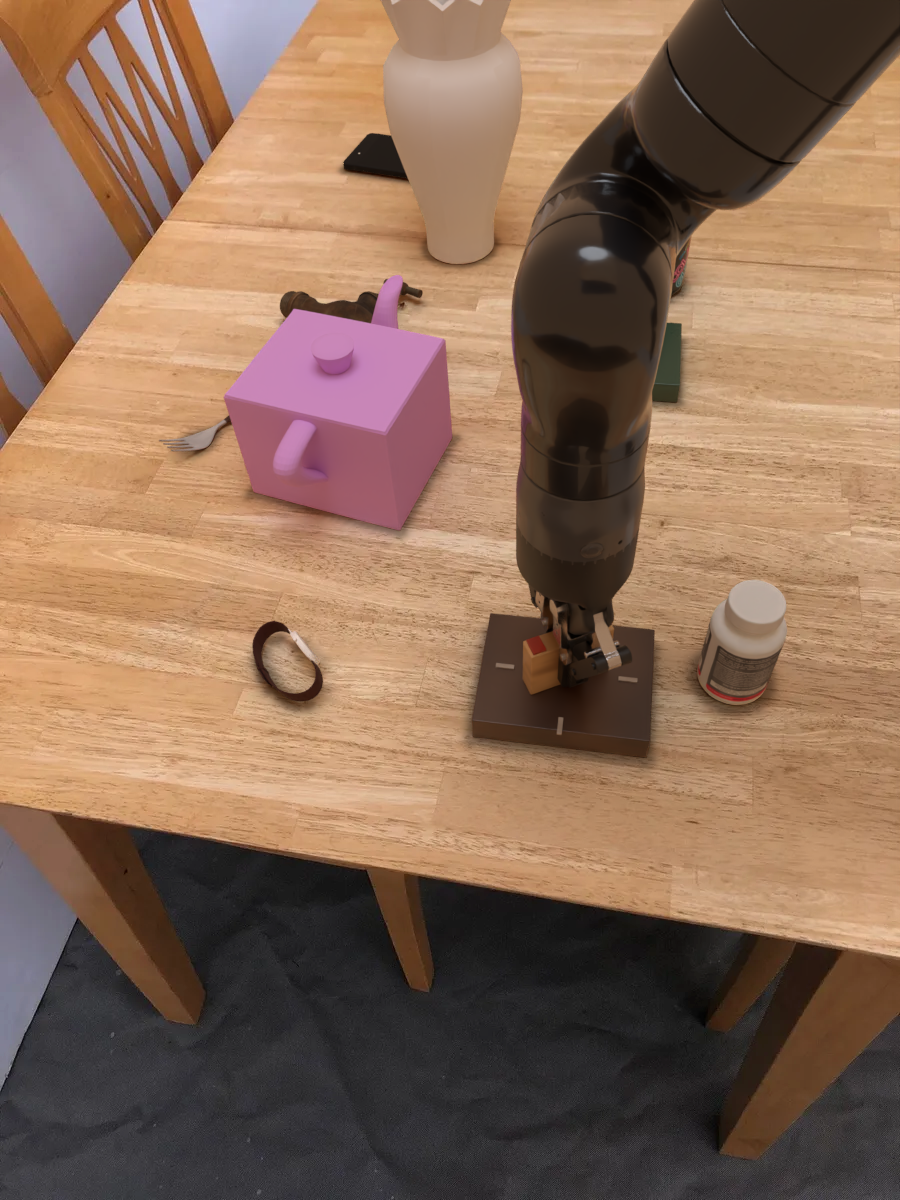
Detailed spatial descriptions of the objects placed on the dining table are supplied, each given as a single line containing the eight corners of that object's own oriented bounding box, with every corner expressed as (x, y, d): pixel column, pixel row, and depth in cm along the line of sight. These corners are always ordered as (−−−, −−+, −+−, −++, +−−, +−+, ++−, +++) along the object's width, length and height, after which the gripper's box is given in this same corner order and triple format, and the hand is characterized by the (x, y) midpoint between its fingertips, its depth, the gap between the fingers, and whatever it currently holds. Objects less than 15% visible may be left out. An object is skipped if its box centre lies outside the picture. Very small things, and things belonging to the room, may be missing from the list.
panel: (651, 643, 74) (655, 624, 72) (646, 762, 68) (650, 744, 66) (491, 627, 76) (490, 608, 74) (471, 741, 70) (470, 723, 68)
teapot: (478, 392, 94) (473, 269, 83) (377, 570, 81) (355, 452, 70) (345, 363, 98) (323, 243, 87) (227, 528, 85) (184, 410, 74)
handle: (599, 651, 71) (605, 610, 67) (609, 667, 70) (615, 626, 66) (522, 678, 70) (522, 639, 66) (530, 695, 69) (531, 656, 65)
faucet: (263, 340, 102) (351, 287, 110) (382, 386, 94) (466, 325, 103) (255, 299, 98) (346, 247, 107) (378, 344, 91) (466, 284, 99)
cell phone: (467, 189, 119) (467, 182, 118) (342, 170, 123) (341, 163, 123) (491, 156, 124) (491, 149, 123) (369, 138, 128) (369, 132, 128)
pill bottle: (781, 690, 71) (813, 614, 63) (722, 717, 70) (748, 643, 62) (739, 639, 74) (765, 561, 66) (682, 664, 73) (702, 587, 65)
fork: (303, 386, 97) (299, 370, 95) (178, 466, 90) (172, 451, 89) (287, 375, 98) (284, 360, 96) (163, 454, 91) (157, 439, 90)
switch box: (678, 340, 98) (684, 308, 95) (677, 402, 92) (682, 370, 89) (565, 334, 99) (567, 302, 96) (556, 394, 94) (557, 362, 90)
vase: (411, 290, 106) (382, 8, 83) (390, 224, 115) (359, -48, 92) (536, 269, 107) (541, -16, 84) (505, 205, 116) (502, -68, 93)
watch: (340, 688, 73) (332, 662, 71) (288, 719, 72) (279, 694, 69) (292, 626, 77) (284, 599, 75) (243, 654, 76) (232, 628, 73)
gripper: (690, 572, 53) (654, 725, 66) (584, 423, 61) (571, 587, 74) (570, 614, 51) (559, 761, 65) (478, 456, 59) (485, 616, 73)
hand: (565, 667), depth 70 cm, fingers closed on handle
